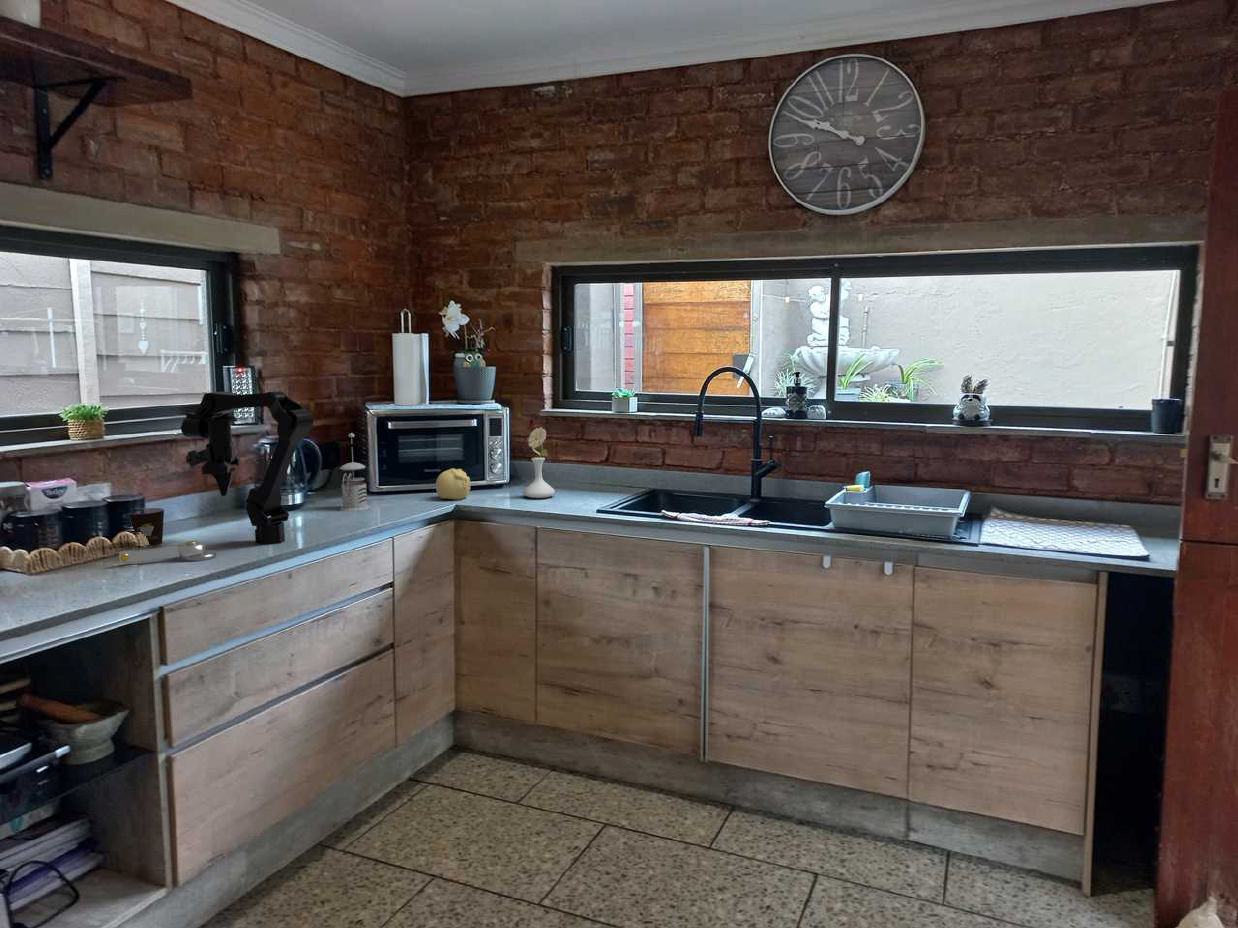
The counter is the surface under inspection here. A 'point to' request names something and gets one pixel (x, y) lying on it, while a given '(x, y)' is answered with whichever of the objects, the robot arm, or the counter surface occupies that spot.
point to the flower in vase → (538, 468)
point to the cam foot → (170, 553)
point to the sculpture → (453, 484)
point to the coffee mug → (150, 524)
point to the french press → (353, 488)
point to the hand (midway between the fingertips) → (224, 495)
